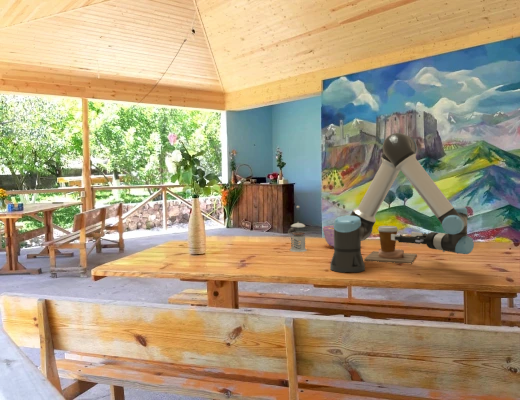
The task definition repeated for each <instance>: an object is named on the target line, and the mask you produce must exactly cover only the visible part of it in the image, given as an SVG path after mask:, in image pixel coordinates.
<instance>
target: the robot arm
mask: <svg viewBox="0 0 520 400" xmlns="http://www.w3.org/2000/svg"><path fill="white" fill-rule="evenodd" d="M382 151H383V154H382V155H381V157H380V159H381V164H380V166H379V167H378V170H377V171H376V173H375V175H374V177H373V178H372V181H371V183H370V185H369V186H368V188H367V190H366V192H365V194H364V196H363V197H362V199H361V201H360V203H359V204H358V207H356V208H355V207H354V208H353V209H352V211H351V213H350V215H341V216H338V217H336V218H335V219H334V220H333V222H334V223H333V225H334V248H333V255H332V256H331V257H332V258H331V261H330V264H329V265H330V270H331V271H332V272H333V271H334V272H338V273H345V272H354V273H361V272H364V271H365V270H366V264H365V261H364V258H363V254H362V252H361V251H362V250H361V249H362V248H361V245H362V242H363V241H365V240H366V239H368V238H369V237H370V236H371V234H372V232H373V227H374V226H375V224H376V215H377V213H378V211H379V209H380V208H381V205H383V202H384V200H385V198H386V197H387V194H388V193H389V191H390V190H391V187H392V186H393V184H394V183H395V180H396V179H397V177H398V175H399V173H400V172H401V173H402V174H403V175H404V177H405V178H406V179H407V180H408V181H409V184H411V185H412V187H413V188H414V190H415V191H416V192H417V193H418V195H419V196H420V197H421V199H422V200H423V202H425V204H426V206H427V207H428V208H429V209H430V210H431V212H432V213H433V215H434V216H435V217H436V218H437V220H438V222H440V224H441V226H442V229H443V231H444V232H445V233H443V232H435V231H431V232H428V233H426V232H424V233H423V232H418V231H411V235H410V236H407V235H402V234H400V235H399V234H397V235H395V234H391V240H395V241H396V242H398V243H405V244H414V245H415V244H417V245H426V246H427V248H429V249H432V250H438V251H442V252H443V253H445V252H448V253H449V252H450V253H454V254H462V255H469V254H471V252H472V251H473V249H474V246H475V243H474V240H473V238H472V237H470V236H468V217H469V215H468V208H466V207H464V206H453V205H452V203H451V202H450V201H449V199H448V198H447V197H446V196H445V194H444V193H443V191H442V190H441V189H440V188H439V187H438V185H437V184H436V183H435V181H434V180H433V179H432V177H431V176H430V175H429V173H428V172H427V171H426V169H425V168H424V167H423V166H422V164H421V163H420V162H419V160H417V158H416V157H417V151H418V145H417V143H416V141H415V139H414V138H413V137H412V136H410V135H409V134H406V133H404V134H403V133H401V132H395V133H391V134H390V135H388V136H387V137H386V138H385V139H384V140H383V144H382Z"/></svg>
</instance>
